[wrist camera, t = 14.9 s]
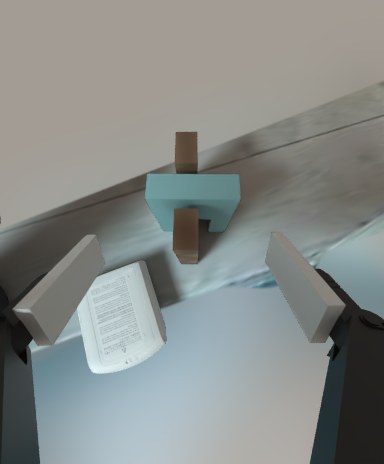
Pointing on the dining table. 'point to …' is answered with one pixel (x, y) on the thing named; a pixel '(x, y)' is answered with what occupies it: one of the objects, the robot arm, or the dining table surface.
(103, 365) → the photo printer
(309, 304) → the robot arm
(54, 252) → the dining table surface
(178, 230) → the walnut slotted board
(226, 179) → the teal slotted plate
